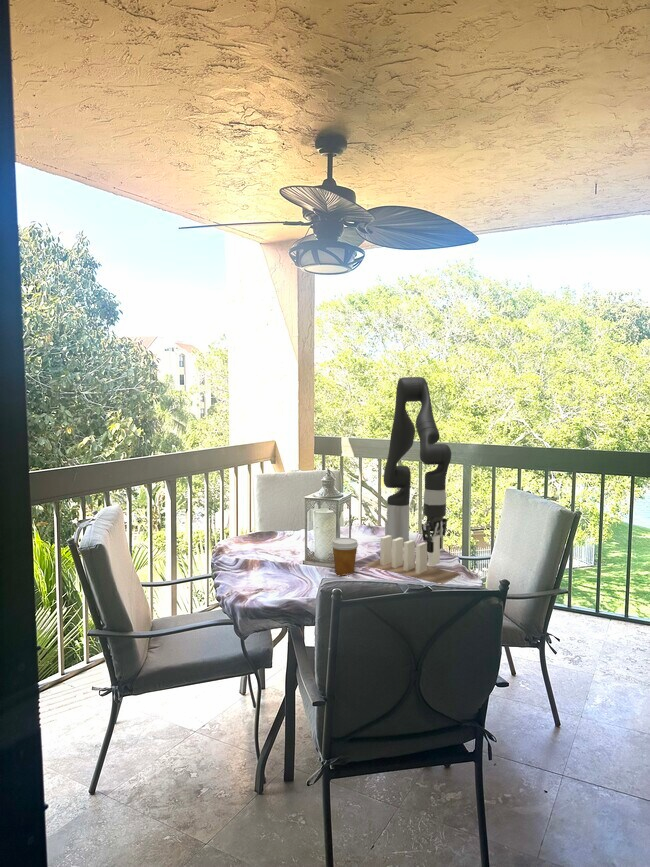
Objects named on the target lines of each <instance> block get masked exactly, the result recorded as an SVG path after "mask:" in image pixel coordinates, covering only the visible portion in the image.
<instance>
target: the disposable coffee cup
mask: <svg viewBox="0 0 650 867" xmlns="http://www.w3.org/2000/svg"><path fill="white" fill-rule="evenodd" d="M358 546H359V542H358V541H357V539H356V538H353V537H337V538H334V539H332V542H331V548H332V553H333V561H334V569H335V575H336V576H338V575H340V576H339V577H342V576H348V575H351V574H353V573H354V572H355V567H356V565H355V564H356V558H357V550H358Z"/></svg>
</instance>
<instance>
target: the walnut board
mask: <svg viewBox="0 0 650 867" xmlns="http://www.w3.org/2000/svg"><path fill="white" fill-rule="evenodd" d="M364 566H365V567H370V568H373V569H376V570H382V571H385V572H390V573H394V574H398V575H402V576H407V577H410V578H414V579H418V580H422V581H427V582H431V583H434V584H438V583H441V584H440V585H444V584H445V583H448V582H450V581H451V580H453V579H455V578H457V577H458V576H461V575H462V573H459V572H455V571H452V570H451V571H450V570H447V569H441V568H437V567H434V566H428V565H427V571H425V572H423V573H421V574H418V573H416V562H415V568H413V569H411V570H408V571H405V570H403V568H404V560H403V565H402V566H399V567H397V568H393V567H392V562H391V563H389V564H386V565H380V558H378V559H376V560H373V561H371V562H368V563H366V564H364Z"/></svg>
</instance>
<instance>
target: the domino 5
mask: <svg viewBox="0 0 650 867" xmlns="http://www.w3.org/2000/svg"><path fill="white" fill-rule="evenodd" d="M433 542H434V552H433V553H430V552H428V564H427V566H429V567H435V566H436V565H438V564H440V563H441V562H440V561H441V549H440V535H438V534H436V535H435V536H434V541H433Z"/></svg>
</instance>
